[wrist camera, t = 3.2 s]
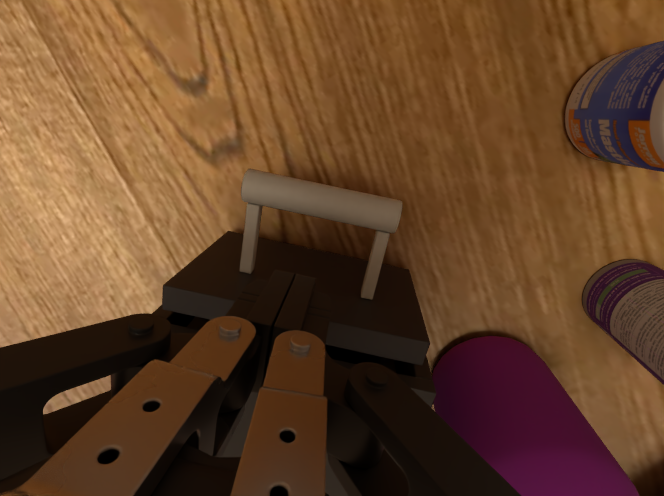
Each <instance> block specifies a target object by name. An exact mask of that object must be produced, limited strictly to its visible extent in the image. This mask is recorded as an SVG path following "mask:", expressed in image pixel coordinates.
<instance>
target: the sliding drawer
mask: <svg viewBox="0 0 664 496" xmlns="http://www.w3.org/2000/svg"><path fill="white" fill-rule="evenodd" d="M241 197H242V200H243V201H244V202H248V204H247V209H246V218H245V227H244V234H240V233H235V232H231V231H228V232H227V233H225V234H224V235H223V236H222V237H220V238H219V239H218V240H217V241H216V242H214V243H213V244H212V245H211V246H210V247H208V248H207V249H206V250H205V251H204V252H202V253H201V254H200V255H199V256H198V257H196V258H195V259H194V260H193V261H192V262H190V263H189V264H188V265H187V266H186V267H184V268H183V269H182V270H181V271H180V272H178V273H177V274H176V275H175V276H174V277H172V278H171V279H170V280H169V281H168V282H166V283H165V284H164V285H163V299H162V309H163V310H168V311H172V312H177V313H182V314H186V315H191V316H195V318H194V319H193V320H192V321H191V322H190V323H189V325H188V326H187V328H192V329H197V330H200V329H201V328H202V327H203V326H204V325H205V324H206V323H207V322H208V321H210V320H212V319H214V318H217V317H222V316H225V315H226V314H227V312H228V311H229V309H230V308H231V307H232V305H233V304H234V302H235V301H236V299H238V297H239V295H240V294H241V293H242V291H243V290H244V288H245V287H246V285H247V284H249V283H251V282H253V281H255V280H257V279H259V280H264V281H268V280H269V279H270V277H271V275H272V274H273V272H274V270H275V269H276V270H281V271H286V272H290V273H295V276H296V274H300V275H305V276H309V277H314V278H316V284H315V289H314V291H315V292H320V293H324V294H328V295H329V297H330V299H331V301H332V308H331V314H330V320H329V326H328V332H327V338H326V343H325V348H326V351H327V353H328V355H329V356H330V357H331V359H334V360H339V361H344V362H348V363H353V364H358V363H362V362H372V363H377V364H380V365H383V366H385V367H387V368H389V369H390V370H392V371H393V372H394V373H396V367H395V360H398V361H403V362H407V363H412V364H416V365H423V362H424V359H425V356H426V353H427V351H428V348H429V345H430V341H429V338H428V334H427V331H426V327H425V324H424V320H423V317H422V313H421V310H420V306H419V303H418V299H417V296H416V293H415V289H414V286H413V282H412V279H411V275H410V272H409V270H408V269H404V268H399V267H395V266H390V265H385V264H382V262H383V258H384V254H385V251H386V247H387V243H388V239H389V235H390V234H389V232H390V233H395V232H396V230H397V228H398V225H399V221H400V217H401V212H402V201H401V200H396V199H391V198H387V197H382V196H377V195H372V194H368V193H363V192H358V191H353V190H349V189H344V188H339V187H334V186H330V185H325V184H320V183H315V182H311V181H306V180H301V179H296V178H292V177H287V176H282V175H277V174H273V173H268V172H263V171H258V170H254V169H248V170H247V171H246V173H245V175H244V178H243V181H242V187H241ZM262 206H267V207H272V208H276V209H281V210H286V211H290V212H295V213H300V214H305V215H309V216H314V217H319V218H323V219H328V220H333V221H338V222H342V223H347V224H352V225H356V226H361V227H366V228H371V229H375V230H376V233H375V237H374V241H373V245H372V249H371V253H370V257H369V261H367V260H362V259H357V258H353V257H348V256H343V255H338V254H334V253H329V252H324V251H320V250H315V249H310V248H306V247H301V246H296V245H292V244H287V243H282V242H278V241H273V240H268V239H264V238H259V237H258V236H259V228H260V221H261V213H262Z"/></svg>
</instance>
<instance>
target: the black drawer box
mask: <svg viewBox="0 0 664 496" xmlns="http://www.w3.org/2000/svg"><path fill="white" fill-rule="evenodd" d="M152 314H155V315H159V316H162V317H164V318H166V319H167V320H168V321H169V322H170V324H171V333H197V332H198V331H199V330H197V329H192V328H187V326H188V325H189V323H190V322H191V321H192V320H193V319H194V318H195V316H191V315H186V314H182V313H177V312H172V311H168V310H163V309H162V305H161V306H160V307H159V308H158V309H157V310H156V311H155V312H153V313H152ZM333 360H334V359H333ZM334 361H335V362H336V363H338V364H339V365H341V366H343V367H345V368H347V369H351V368H352V367H353V366H354V365H356V364H353V363H348V362H344V361H339V360H334ZM395 367H396V374H397V375H398V376H399V377H400V378H401V379H402V380H403V381H404V382H405V383H406V384H407V385H408V386H409V387H410V388H411V389H412V390H413V391H414V392H415V393H416V394H417V395H418V396H419V397H420V398H421V399H422V400H423V401H424V402H425V403H427V404H428V405H429V406H430V407H432V404H433V402H434V399H435V396H436V390H435V386H434V382H433V380H432V376H431V372H430V368H429V364H428V360H427V356H425V359H424V362H423V365H416V364H412V363H407V362H403V361H398V360H395ZM257 397H258V393H255V392H251V393H250V396H249V398H248V400H247V402H246V404H245V410H244V414H243V416H242V418H241V420H240V422H239V424H238V426H237V428H236V430H235V432H234V434H233V436H232V438H231V439H230V441H229V443H228V445H227V447H226V449H225V451H224V453H223V455H222V457H241V455H242V451H243V448H244V444H245V440H246V437H247V433H248V430H249V426H250V422H251V419H252V415H253V411H254V408H255V404H256V400H257ZM384 449H385V448H384ZM385 450H386V449H385ZM386 451H387V450H386ZM387 453H388V454H389V452H388V451H387ZM389 455H390V454H389ZM390 456H391V455H390ZM391 457H392V456H391ZM392 459H393V457H392ZM393 460H394V459H393ZM394 461H395V460H394ZM395 462H396V461H395ZM396 464H397V462H396ZM397 465H398V464H397ZM398 466H399V465H398ZM399 467H400V466H399ZM400 469H401V467H400ZM401 470H402V469H401ZM402 471H403V470H402ZM325 493H327V494H328V495H329V496H348V495H347V493H346V491H345V490H344V488H343V487H342V485H341V484H340V482H339V480H338V479H337V477H336V476H335V474H334V473H333V471H332V469H331V467H330V465H329V462H328V453H326V475H325Z"/></svg>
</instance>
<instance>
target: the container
mask: <svg viewBox="0 0 664 496" xmlns="http://www.w3.org/2000/svg"><path fill="white" fill-rule="evenodd" d="M582 303H583V308H584V310H585V312H586V314H587V315H588V316H589V317H590V318H591V319H592V320H593V321H594V322H595V323H596V324H597V325H598V326H599V327H600V328H601V329H602V330H604V331H605V332H606V333H607V334H608V335H609V336H610V337H611V338H612V339H614V340H615V341H616V342H617V343H618V344H619V345H620V346H621V347H622V348H624V349H625V350H626V351H627V352H628V353H629V354H630V355H631V356H632V357H634V358H635V359H636V360H637V361H638V362H639V363H640V364H641V365H642V366H644V367H645V368H646V369H647V370H648V371H649V372H650V373H651V374H652V375H654V376H655V377H656V378H657V379H658V380H659V381H660V382H661V383H662V384H664V270H662V269H660V268H658V267H656V266H654V265H652V264H650V263H647V262H645V261H641V260H632V259H630V260H621V261H617V262H614V263H611V264H609V265H607V266H605V267H603V268H602V269H600V270H599V271H598V272H597V273H596V274H594V275H593V277H592V278H591V279H590V280H589V281H588V283H587V285H586V287H585V289H584V292H583V297H582Z"/></svg>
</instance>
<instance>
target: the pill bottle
mask: <svg viewBox="0 0 664 496" xmlns="http://www.w3.org/2000/svg"><path fill="white" fill-rule="evenodd" d="M565 125H566V130H567V134H568V136H569V138H570V140H571V142H572V143H573V145H574V146H575V147H576V148H577V149H578V150H579V151H580V152H582V153H583V154H585V155H586V156H588V157H591V158H593V159H597V160H601V161H605V162H611V163H617V164H622V165H628V166H633V167H639V168H645V169H651V170H656V171H662V172H664V41H661V42H657V43H653V44H649V45H646V46H641V47H637V48H633V49H630V50H626V51H623V52H620V53H617V54H615V55H612V56H610V57H608V58H606V59H604V60H602V61H601V62H599V63H598V64H596V65H595V66H594V67H592V68H591V69H590V70H589V71H588V72H587V73H586V74H585V75H584V76H583V77H582V78H581V79H580V80H579V82H578V83H577V84H576V86H575V87H574V89H573V91H572V93H571V95H570V97H569V100H568V103H567V106H566V112H565Z"/></svg>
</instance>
